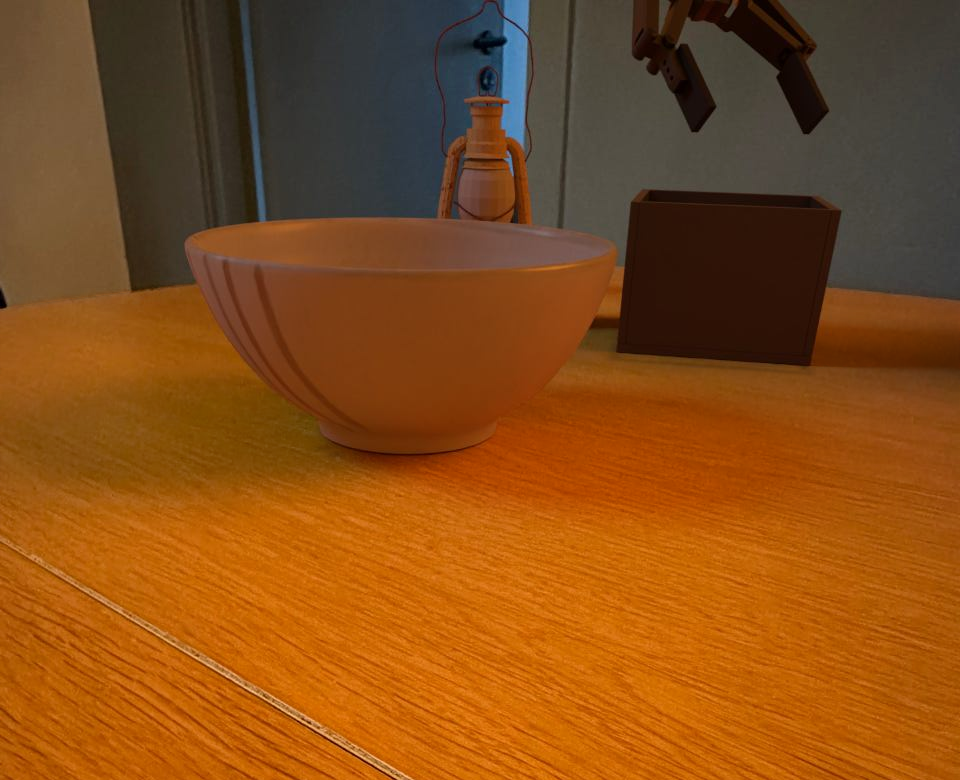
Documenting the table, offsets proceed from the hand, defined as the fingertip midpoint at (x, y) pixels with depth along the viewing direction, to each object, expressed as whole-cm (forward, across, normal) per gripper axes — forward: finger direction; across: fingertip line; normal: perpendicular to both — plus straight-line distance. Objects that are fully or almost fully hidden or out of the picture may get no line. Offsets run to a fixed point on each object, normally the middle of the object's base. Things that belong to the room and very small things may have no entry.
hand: (762, 121), depth 79 cm
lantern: (-13, +7, -40) cm, 42 cm away
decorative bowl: (+21, +40, -6) cm, 46 cm away
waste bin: (+12, 0, -15) cm, 19 cm away
